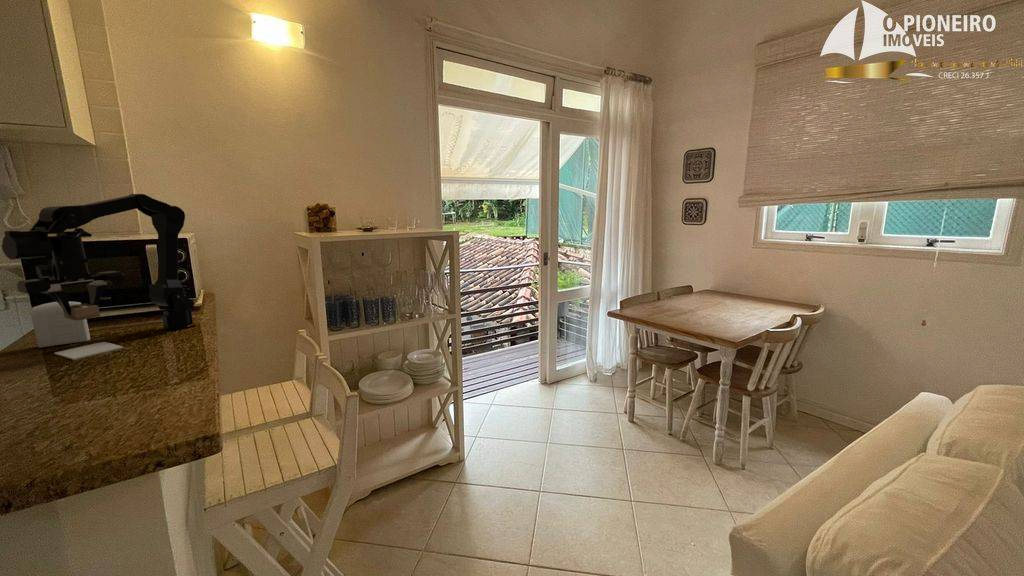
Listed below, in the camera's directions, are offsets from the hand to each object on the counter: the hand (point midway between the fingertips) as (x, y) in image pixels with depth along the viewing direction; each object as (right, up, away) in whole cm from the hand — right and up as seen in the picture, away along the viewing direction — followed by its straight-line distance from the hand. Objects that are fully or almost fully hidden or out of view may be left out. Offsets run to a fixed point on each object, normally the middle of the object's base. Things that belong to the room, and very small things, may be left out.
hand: (81, 312), depth 106 cm
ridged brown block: (0, -1, 0) cm, 1 cm away
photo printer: (-14, -10, +9) cm, 19 cm away
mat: (0, -11, +2) cm, 11 cm away
